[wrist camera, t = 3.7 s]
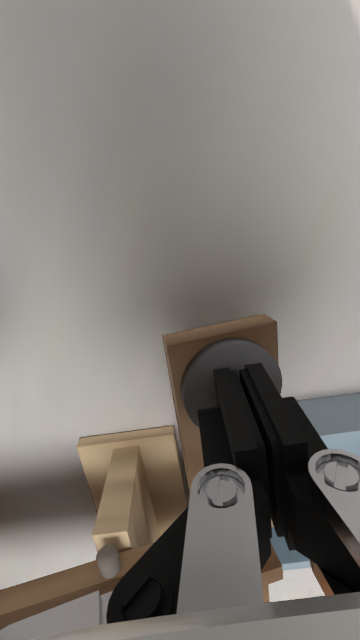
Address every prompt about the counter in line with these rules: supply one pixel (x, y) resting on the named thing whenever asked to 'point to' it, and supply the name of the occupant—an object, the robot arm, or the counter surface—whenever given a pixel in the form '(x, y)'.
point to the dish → (337, 433)
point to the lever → (189, 396)
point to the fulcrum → (133, 485)
